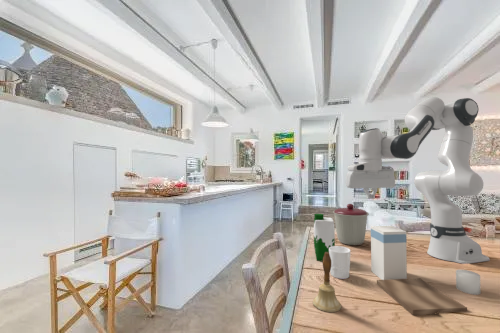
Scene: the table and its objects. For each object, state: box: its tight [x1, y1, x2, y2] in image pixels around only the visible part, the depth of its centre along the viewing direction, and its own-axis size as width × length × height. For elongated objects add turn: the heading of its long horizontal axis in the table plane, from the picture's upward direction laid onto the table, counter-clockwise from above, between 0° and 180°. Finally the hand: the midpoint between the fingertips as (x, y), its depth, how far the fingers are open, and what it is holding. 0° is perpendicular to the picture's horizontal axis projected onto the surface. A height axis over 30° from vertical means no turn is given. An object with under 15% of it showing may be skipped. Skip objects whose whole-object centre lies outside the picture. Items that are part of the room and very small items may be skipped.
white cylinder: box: [455, 269, 482, 296], centre depth 81 cm, size 6×6×6 cm
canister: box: [332, 203, 369, 246], centre depth 133 cm, size 18×18×21 cm
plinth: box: [376, 277, 468, 316], centre depth 78 cm, size 16×18×2 cm
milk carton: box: [313, 213, 336, 262], centre depth 111 cm, size 9×9×20 cm
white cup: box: [329, 245, 351, 280], centre depth 94 cm, size 8×8×10 cm
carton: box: [370, 225, 408, 280], centre depth 93 cm, size 9×9×18 cm
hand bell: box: [312, 252, 342, 313], centre depth 75 cm, size 8×8×16 cm
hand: (370, 198), depth 105 cm, fingers closed
